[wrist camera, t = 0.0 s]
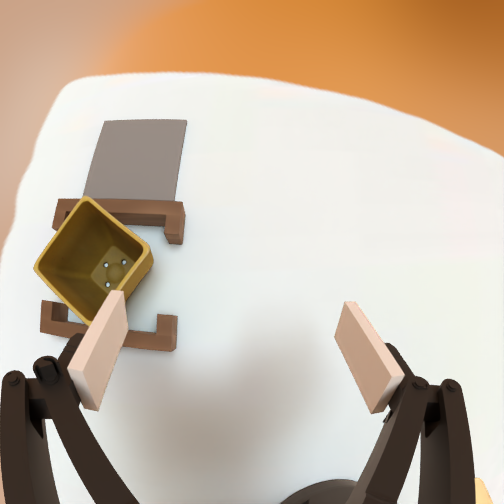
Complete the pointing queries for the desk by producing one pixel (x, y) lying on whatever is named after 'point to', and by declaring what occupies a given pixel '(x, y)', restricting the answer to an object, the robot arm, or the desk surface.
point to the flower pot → (92, 259)
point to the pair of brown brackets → (127, 214)
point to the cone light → (481, 492)
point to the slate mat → (137, 160)
